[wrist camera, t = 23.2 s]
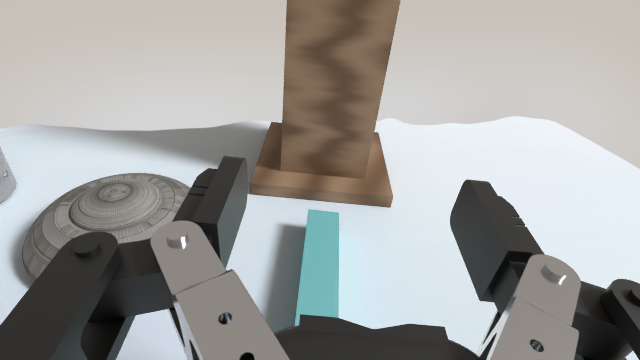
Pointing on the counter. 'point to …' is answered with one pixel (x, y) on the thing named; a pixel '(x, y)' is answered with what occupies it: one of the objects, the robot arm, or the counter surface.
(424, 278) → the counter surface
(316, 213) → the teal bar
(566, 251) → the counter surface
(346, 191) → the walnut pedestal
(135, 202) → the flying saucer
